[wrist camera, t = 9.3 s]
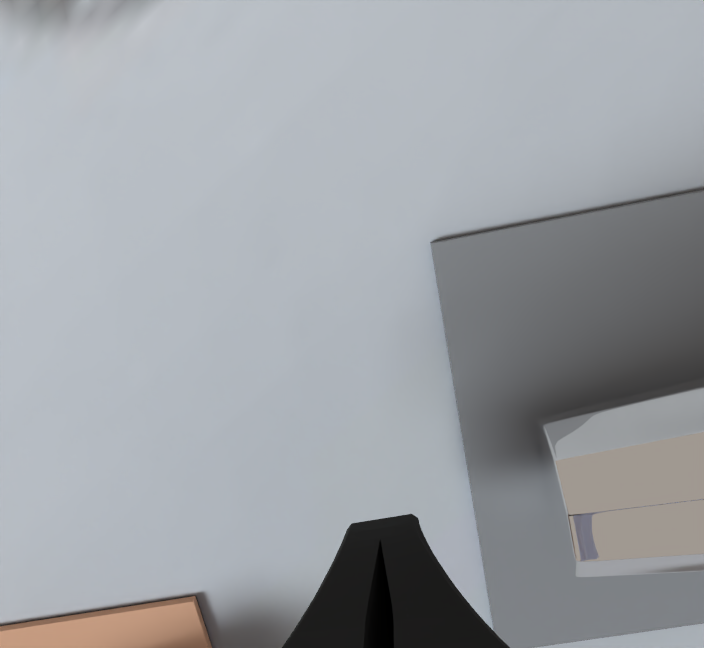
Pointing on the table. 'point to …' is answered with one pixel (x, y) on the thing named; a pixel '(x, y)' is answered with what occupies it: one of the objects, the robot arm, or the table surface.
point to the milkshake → (629, 482)
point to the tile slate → (567, 392)
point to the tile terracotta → (116, 628)
